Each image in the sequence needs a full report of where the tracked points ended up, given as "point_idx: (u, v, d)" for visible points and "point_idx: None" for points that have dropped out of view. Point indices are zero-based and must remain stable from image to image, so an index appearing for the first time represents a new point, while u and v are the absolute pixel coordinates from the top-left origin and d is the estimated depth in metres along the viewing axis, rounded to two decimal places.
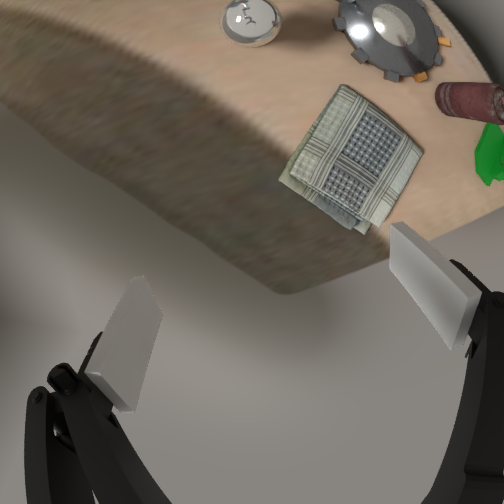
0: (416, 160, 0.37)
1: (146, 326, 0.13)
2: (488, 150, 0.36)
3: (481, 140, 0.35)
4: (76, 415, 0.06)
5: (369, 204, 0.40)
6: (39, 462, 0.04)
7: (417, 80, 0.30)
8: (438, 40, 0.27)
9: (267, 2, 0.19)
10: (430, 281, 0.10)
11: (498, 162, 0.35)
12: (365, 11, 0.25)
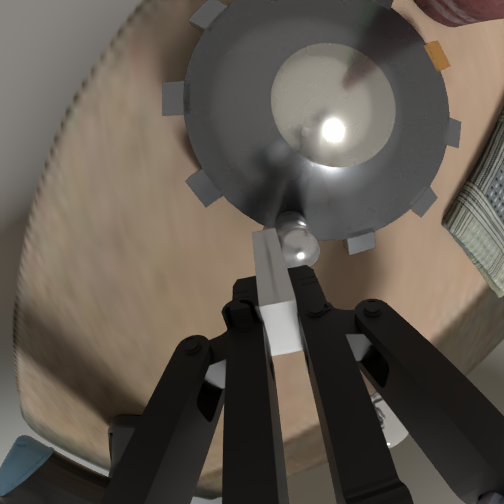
0: None
1: None
2: None
3: None
4: (242, 358, 0.08)
5: None
6: (162, 430, 0.06)
7: None
8: None
9: None
10: None
11: None
12: (318, 181, 0.16)
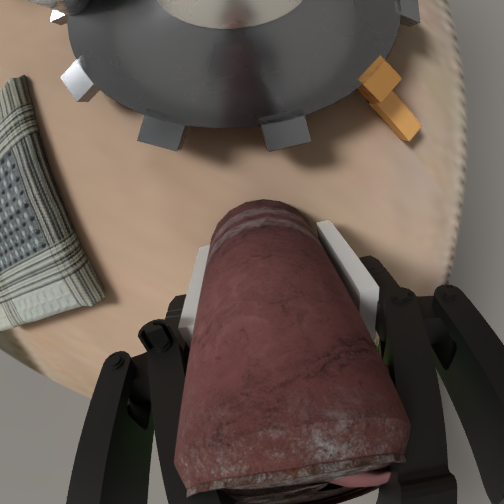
0: (69, 304, 0.16)
1: None
2: None
3: None
4: (163, 376, 0.08)
5: None
6: (100, 437, 0.06)
7: (372, 98, 0.11)
8: None
9: None
10: (340, 276, 0.12)
11: None
12: None
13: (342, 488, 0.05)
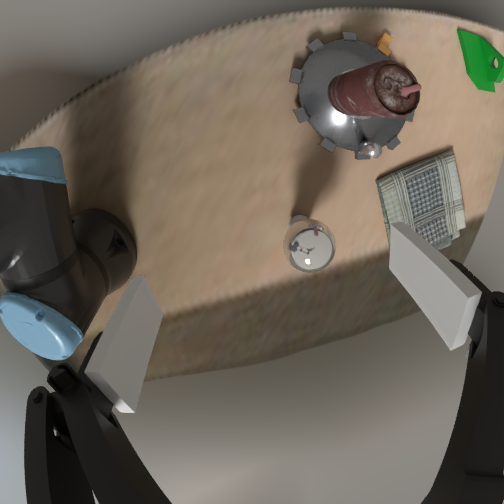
0: (455, 165, 0.37)
1: (146, 326, 0.13)
2: (476, 63, 0.28)
3: (466, 59, 0.29)
4: (76, 415, 0.06)
5: (450, 223, 0.43)
6: (39, 462, 0.04)
7: None
8: None
9: (314, 238, 0.33)
10: (430, 281, 0.10)
11: (489, 66, 0.27)
12: (366, 125, 0.34)
13: (408, 101, 0.21)
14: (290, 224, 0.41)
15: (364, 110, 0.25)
